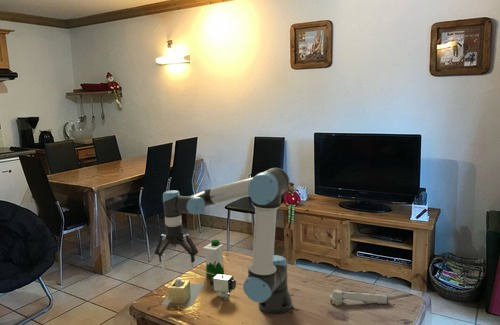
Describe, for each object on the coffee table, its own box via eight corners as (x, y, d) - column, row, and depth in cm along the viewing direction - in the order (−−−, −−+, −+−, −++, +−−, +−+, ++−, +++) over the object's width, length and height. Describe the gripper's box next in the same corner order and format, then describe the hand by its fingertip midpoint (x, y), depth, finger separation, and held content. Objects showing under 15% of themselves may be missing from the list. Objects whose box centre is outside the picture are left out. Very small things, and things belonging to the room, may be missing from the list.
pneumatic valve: (233, 302, 187) (231, 278, 185) (210, 299, 191) (209, 275, 189) (238, 297, 192) (236, 273, 190) (216, 293, 196) (214, 270, 194)
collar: (190, 296, 192) (189, 280, 191) (185, 304, 184) (184, 288, 183) (174, 295, 193) (173, 279, 192) (168, 303, 186) (167, 287, 184)
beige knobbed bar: (389, 298, 176) (331, 290, 179) (387, 312, 177) (330, 304, 180) (386, 292, 181) (330, 285, 184) (384, 306, 183) (329, 298, 185)
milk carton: (226, 276, 215) (224, 240, 212) (217, 283, 208) (214, 246, 205) (213, 273, 220) (210, 238, 217) (203, 280, 212) (200, 244, 209)
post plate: (205, 286, 204) (203, 264, 203) (192, 308, 183) (190, 284, 181) (177, 285, 207) (175, 263, 205) (161, 307, 186) (158, 283, 184)
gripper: (202, 221, 185) (205, 265, 188) (151, 222, 189) (155, 264, 192) (197, 226, 177) (201, 272, 181) (144, 227, 182) (149, 271, 185)
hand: (177, 268), depth 186 cm, fingers open, 13 cm apart
